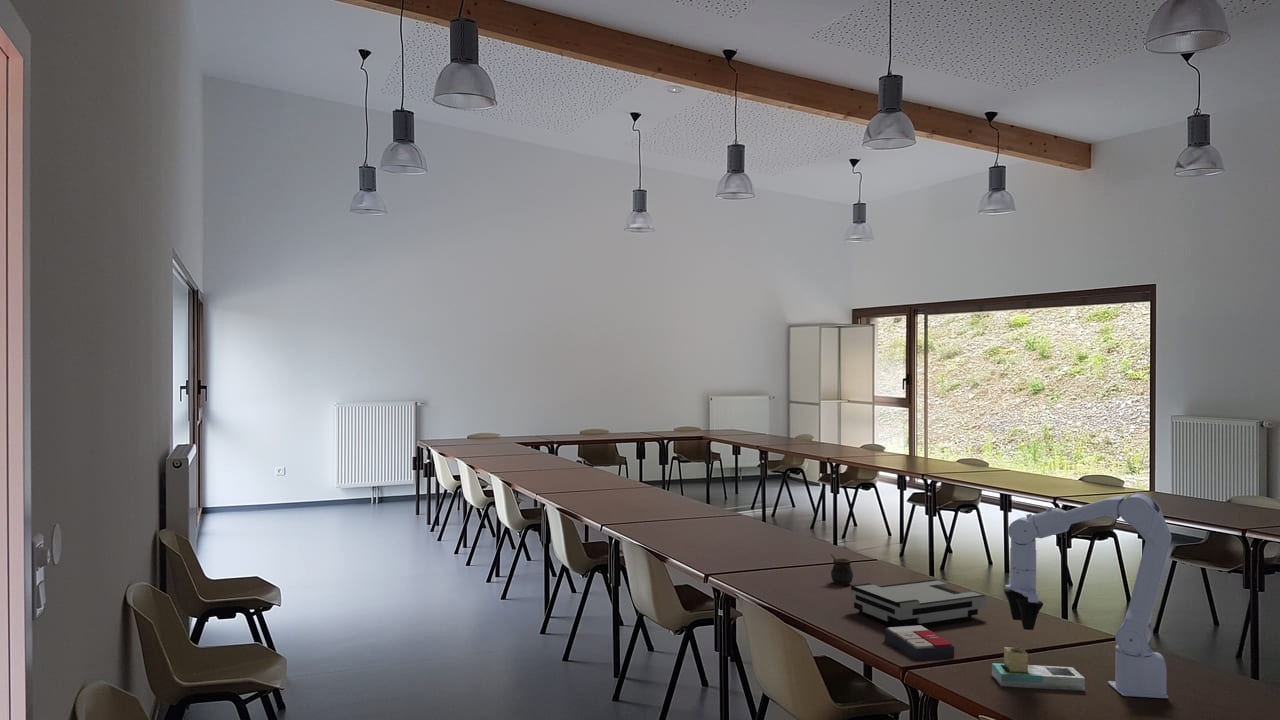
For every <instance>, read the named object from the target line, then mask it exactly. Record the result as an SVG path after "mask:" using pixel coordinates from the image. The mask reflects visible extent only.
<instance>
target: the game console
mask: <svg viewBox="0 0 1280 720" xmlns="http://www.w3.org/2000/svg"><path fill="white" fill-rule="evenodd" d="M850 601H851V602H853V609H856V610H858V612H859V613H860V614H863V615H864V616H867V617H870V618H872V619H873V618H878V619H880V620H882V621H885V622H888V623H889V625H890V626H891V627H903V626H918V625H921V626H923V627H924V628H926V629H927V628H931V627H938V626H944V625H945V626H946V625H952V624H959V623H965V622H971V621H972V616H976V615H978V614H979V609H986V608H987V595H984V594H981V593H979V592H975V591H968V592H960V591H956V590H954V589H953V590H952V589H950V588H947V583H946V582H943V581H940V580H936V579H928V580H920V581H911V582H903V583H902V582H901V583H895V584H886V585H879V586H878V585H876V584H872V583H870V582H867V583H861V584H853V585H851V586H850Z"/></svg>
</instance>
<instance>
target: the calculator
mask: <svg viewBox="0 0 1280 720" xmlns="http://www.w3.org/2000/svg"><path fill="white" fill-rule="evenodd" d="M884 642H886V643H888V644H889V645H891V646H893V647H895V648H896V649H898V650H899V651H901V652H903V654H904V655H905V654H906V655H907V656H909V657H911V658H912V659H914V660H916V661H917V660H928V659H929V660H930V659H943V658H954V656H955V646H954V645H953V643H951V642H950V641H948V640H946V639H945V638H944V637H942V636H940V635H938V634H937V633H936V632H934V631H932V630H930V629H928V628H927V627H926V628H924V627H923V626H921V625H918V626H903V627H894V626H890V627H886V628H885V629H884Z"/></svg>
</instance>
